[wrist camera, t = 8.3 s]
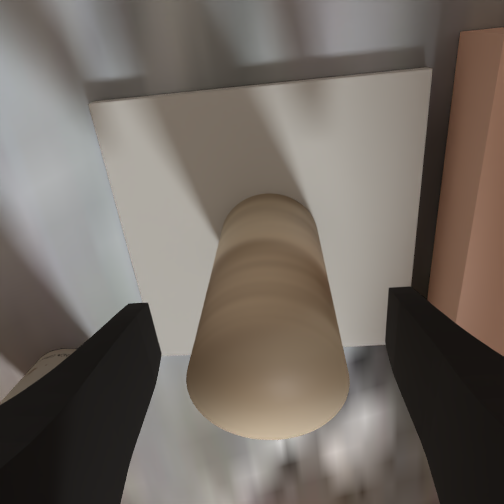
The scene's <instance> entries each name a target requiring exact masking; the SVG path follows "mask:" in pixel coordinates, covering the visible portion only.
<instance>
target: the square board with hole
mask: <svg viewBox="0 0 504 504" xmlns="http://www.w3.org/2000/svg"><path fill="white" fill-rule="evenodd" d="M427 300H428V301H429V302H430V303H431V304H432V305H434V306H435V307H436V308H437V309H439V310H440V311H441V312H442V313H444V314H445V315H446V316H447V317H449V318H450V319H451V320H452V321H454V322H455V323H456V324H458V325H459V326H460V327H462V328H463V329H464V330H466V331H467V332H468V333H470V334H471V335H473V336H474V337H475V338H477V339H478V340H480V341H481V342H483V343H484V344H486V345H487V346H489V347H490V348H491V349H493V350H495V351H496V352H498V353H499V354H501V355H502V356H504V27H500V28H491V29H481V30H472V31H463V32H460V38H459V46H458V54H457V62H456V70H455V78H454V86H453V94H452V103H451V111H450V119H449V127H448V135H447V143H446V151H445V159H444V167H443V175H442V184H441V192H440V200H439V208H438V216H437V224H436V232H435V240H434V248H433V256H432V265H431V273H430V281H429V289H428V297H427Z"/></svg>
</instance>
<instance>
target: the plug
mask: <svg viewBox="0 0 504 504" xmlns="http://www.w3.org/2000/svg"><path fill="white" fill-rule="evenodd" d="M186 383H187V389H188V392H189V395H190V398H191V400H192V402H193V404H194V405H195V406H196V408H197V409H198V411H199V412H200V413H201V414H202V415H203V416H204V417H205V418H207V419H208V420H209V421H210V422H212V423H213V424H215V425H216V426H218V427H220V428H222V429H224V430H226V431H228V432H230V433H233V434H236V435H239V436H243V437H247V438H252V439H260V440H280V439H288V438H293V437H297V436H301V435H304V434H307V433H310V432H312V431H314V430H316V429H318V428H320V427H321V426H323V425H325V424H326V423H327V422H329V421H330V420H331V419H332V418H333V417H334V416H335V415H336V414H337V413H338V412H339V411H340V409H341V408H342V406H343V405H344V403H345V401H346V398H347V395H348V392H349V373H348V369H347V364H346V360H345V355H344V350H343V346H342V341H341V336H340V332H339V327H338V323H337V318H336V313H335V309H334V304H333V299H332V295H331V290H330V285H329V281H328V276H327V272H326V267H325V262H324V258H323V253H322V248H321V244H320V239H319V234H318V230H317V226H316V223H315V221H314V218H313V217H312V215H311V213H310V212H309V211H308V210H307V209H306V208H305V207H304V206H303V205H302V204H301V203H299V202H298V201H296V200H294V199H292V198H290V197H287V196H284V195H280V194H259V195H255V196H252V197H249V198H247V199H245V200H243V201H242V202H240V203H239V204H238V205H236V206H235V207H234V208H233V209H232V210H231V211H230V213H229V214H228V216H227V217H226V219H225V222H224V224H223V228H222V232H221V236H220V240H219V244H218V248H217V252H216V256H215V260H214V264H213V268H212V272H211V276H210V280H209V284H208V288H207V292H206V297H205V301H204V305H203V309H202V313H201V317H200V321H199V325H198V329H197V333H196V337H195V341H194V345H193V349H192V353H191V357H190V361H189V365H188V370H187V378H186Z"/></svg>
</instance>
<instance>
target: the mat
mask: <svg viewBox="0 0 504 504" xmlns="http://www.w3.org/2000/svg"><path fill="white" fill-rule="evenodd" d="M431 79H432V69H431V68H427V67H425V68H415V69H405V70H395V71H386V72H376V73H366V74H356V75H346V76H337V77H327V78H317V79H307V80H298V81H288V82H278V83H268V84H258V85H249V86H239V87H229V88H219V89H209V90H200V91H190V92H180V93H170V94H160V95H151V96H141V97H131V98H121V99H112V100H102V101H94V102H92V103H89V104H88V105H89V109H90V112H91V116H92V120H93V123H94V127H95V131H96V134H97V138H98V141H99V145H100V149H101V152H102V156H103V160H104V163H105V167H106V171H107V174H108V178H109V181H110V185H111V189H112V192H113V196H114V200H115V203H116V207H117V211H118V214H119V218H120V222H121V225H122V229H123V232H124V236H125V240H126V243H127V247H128V251H129V254H130V258H131V262H132V265H133V269H134V272H135V276H136V280H137V283H138V287H139V291H140V294H141V298H142V302H143V303H148V304H149V308H150V312H151V316H152V319H153V323H154V327H155V331H156V334H157V338H158V342H159V345H160V349H161V353H162V355H161V356H176V355H191V353H192V349H193V345H194V341H195V337H196V333H197V329H198V325H199V321H200V317H201V313H202V309H203V305H204V301H205V297H206V292H207V288H208V284H209V280H210V276H211V272H212V268H213V264H214V260H215V256H216V252H217V248H218V244H219V240H220V236H221V232H222V228H223V224H224V222H225V219H226V217H227V216H228V214H229V213H230V211H231V210H232V209H233V208H234V207H235V206H236V205H238V204H239V203H240V202H242V201H243V200H245V199H247V198H249V197H252V196H255V195H259V194H280V195H284V196H287V197H290V198H292V199H294V200H296V201H298V202H299V203H301V204H302V205H303V206H304V207H305V208H306V209H307V210H308V211H309V212H310V213H311V215H312V217H313V218H314V221H315V223H316V226H317V230H318V234H319V239H320V244H321V248H322V253H323V258H324V262H325V267H326V272H327V276H328V281H329V285H330V290H331V295H332V299H333V304H334V309H335V313H336V318H337V323H338V327H339V332H340V336H341V341H342V346H343V347H352V346H371V345H386V344H385V335H386V320H387V306H388V291H389V288H391V287H407V286H410V287H411V281H412V271H413V261H414V251H415V241H416V231H417V220H418V210H419V200H420V190H421V180H422V170H423V160H424V150H425V140H426V130H427V119H428V109H429V99H430V89H431Z"/></svg>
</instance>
